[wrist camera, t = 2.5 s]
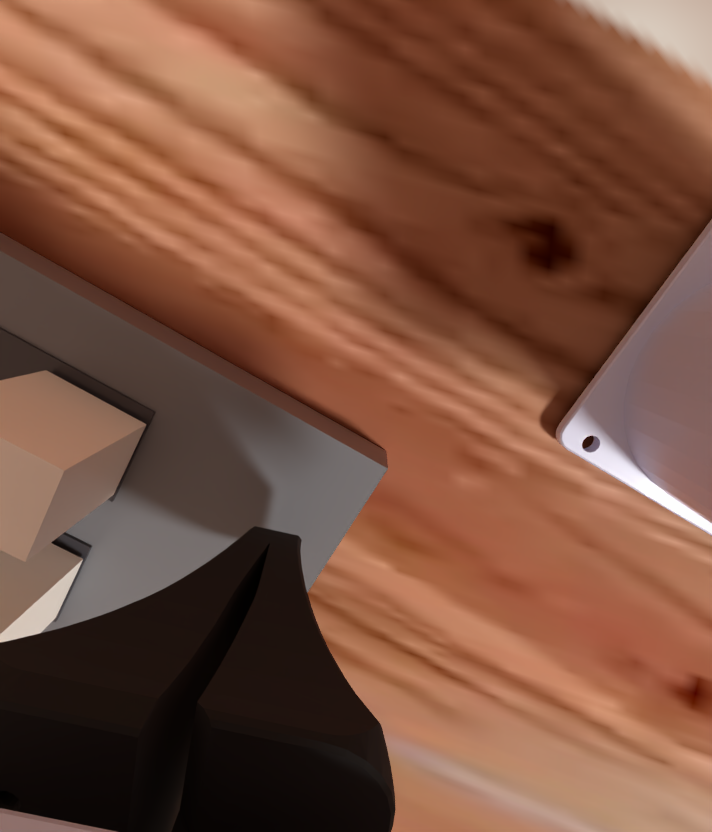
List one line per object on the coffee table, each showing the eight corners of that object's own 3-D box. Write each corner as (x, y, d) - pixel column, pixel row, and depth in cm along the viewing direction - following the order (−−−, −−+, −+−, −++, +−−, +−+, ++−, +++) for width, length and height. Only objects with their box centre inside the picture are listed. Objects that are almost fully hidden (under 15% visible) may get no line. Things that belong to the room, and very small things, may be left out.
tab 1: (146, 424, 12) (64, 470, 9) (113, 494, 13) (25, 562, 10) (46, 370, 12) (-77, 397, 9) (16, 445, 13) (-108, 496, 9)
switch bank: (386, 451, 14) (388, 471, 12) (172, 784, 18) (153, 832, 17) (-98, 177, 12) (-169, 158, 11) (-213, 610, 17) (-276, 644, 15)
